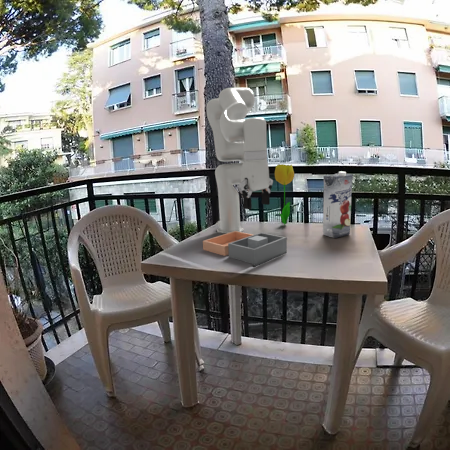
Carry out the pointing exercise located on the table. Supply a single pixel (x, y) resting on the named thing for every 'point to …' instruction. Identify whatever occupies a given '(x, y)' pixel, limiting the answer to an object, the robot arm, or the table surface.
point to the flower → (284, 176)
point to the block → (257, 241)
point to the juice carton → (337, 204)
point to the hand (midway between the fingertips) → (256, 206)
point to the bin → (258, 249)
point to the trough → (223, 242)
